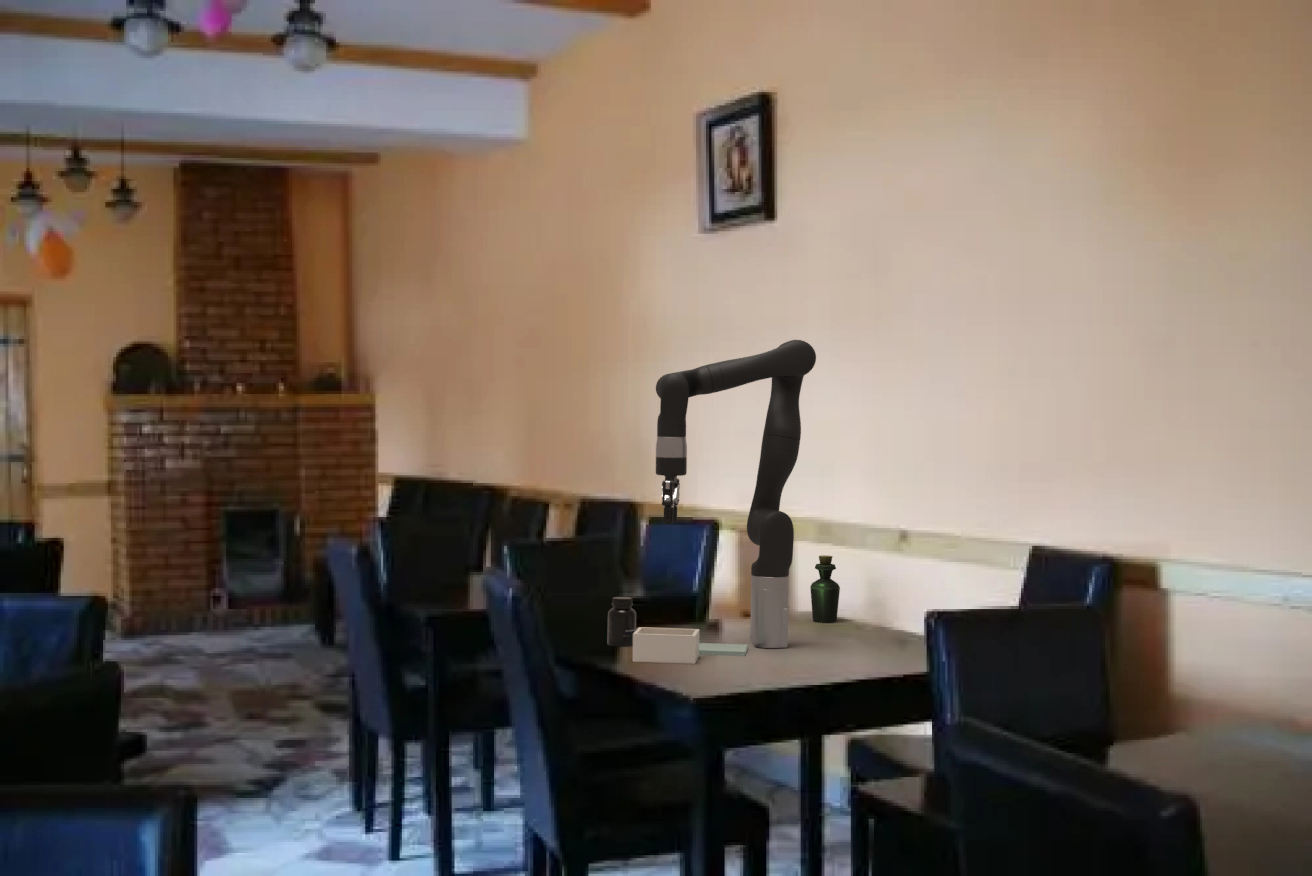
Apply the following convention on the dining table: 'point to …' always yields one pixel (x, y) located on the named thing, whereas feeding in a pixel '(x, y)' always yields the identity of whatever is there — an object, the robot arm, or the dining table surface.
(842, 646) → the dining table surface
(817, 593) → the potion bottle
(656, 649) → the tub
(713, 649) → the lid
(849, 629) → the dining table surface
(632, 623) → the supplement bottle
